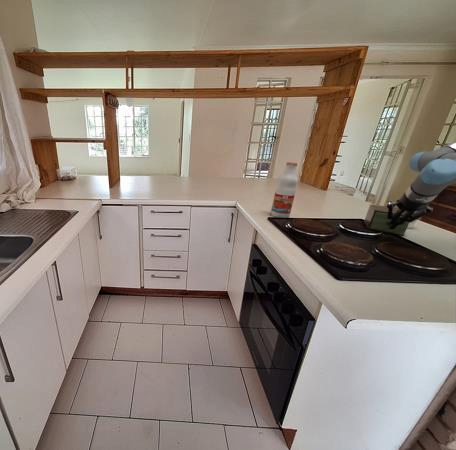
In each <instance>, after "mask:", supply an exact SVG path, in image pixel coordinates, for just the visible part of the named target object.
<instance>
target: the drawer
mask: <svg viewBox="0 0 456 450" xmlns="http://www.w3.org/2000/svg"><path fill="white" fill-rule="evenodd" d="M392 215H393V214H392ZM387 216H388V214H386V213H380V212H376V213H375V216H374V218H373V221H372V223H371V226H370V228H371V229H376V230H382V231H387V232H393V233H398V234H404V231H405V229H406V227H407V224H408V221H406V222H405V224H402V225H398V226H397V227H396V228H395V229H394V230H392V229H389V226H390V224H389V222H390V219H387ZM400 217H402V216H400ZM406 230H407V229H406ZM405 232H406V231H405ZM404 235H405V234H404Z"/></svg>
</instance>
